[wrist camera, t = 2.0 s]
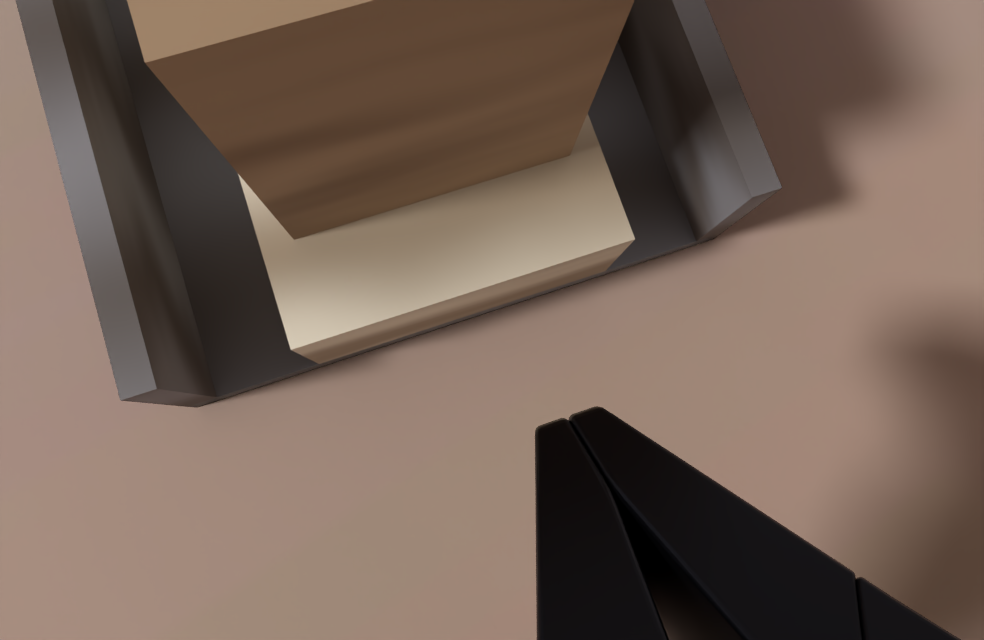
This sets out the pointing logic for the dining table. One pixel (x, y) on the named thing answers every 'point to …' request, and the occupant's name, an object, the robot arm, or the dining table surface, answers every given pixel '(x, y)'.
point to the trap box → (376, 239)
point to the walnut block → (379, 92)
